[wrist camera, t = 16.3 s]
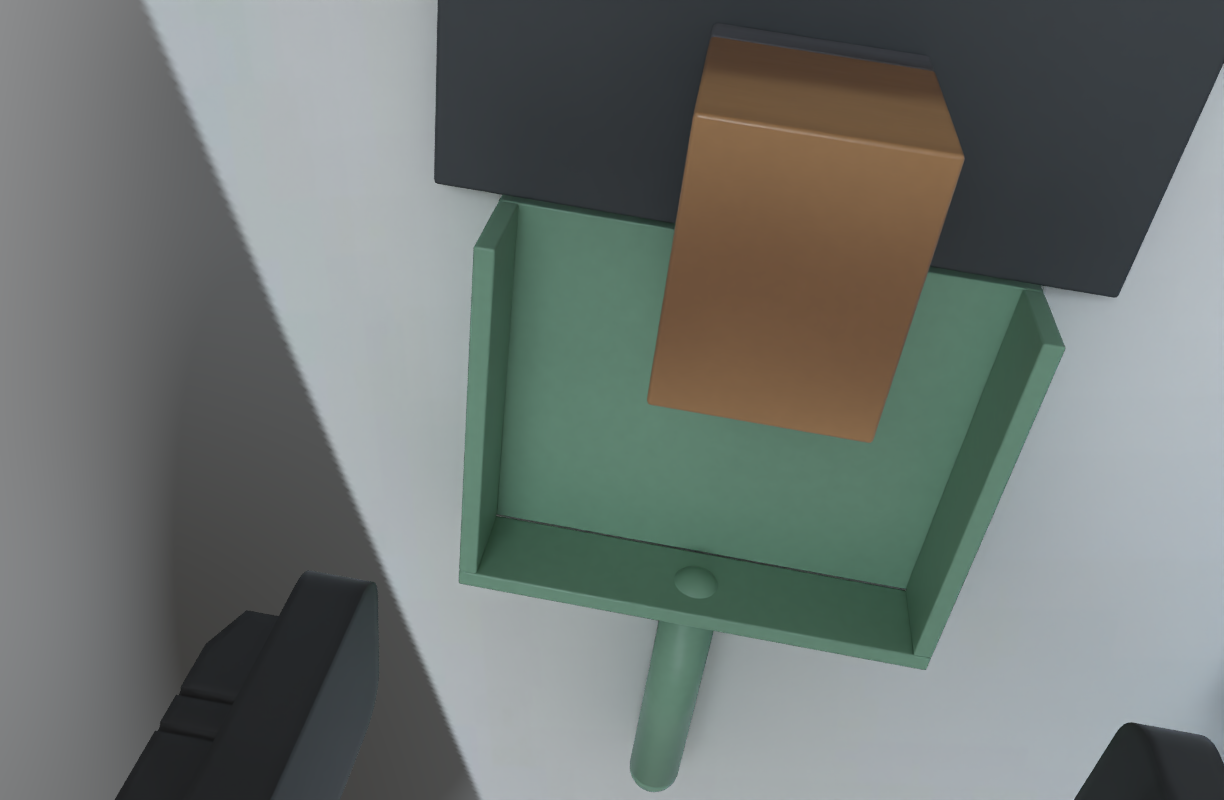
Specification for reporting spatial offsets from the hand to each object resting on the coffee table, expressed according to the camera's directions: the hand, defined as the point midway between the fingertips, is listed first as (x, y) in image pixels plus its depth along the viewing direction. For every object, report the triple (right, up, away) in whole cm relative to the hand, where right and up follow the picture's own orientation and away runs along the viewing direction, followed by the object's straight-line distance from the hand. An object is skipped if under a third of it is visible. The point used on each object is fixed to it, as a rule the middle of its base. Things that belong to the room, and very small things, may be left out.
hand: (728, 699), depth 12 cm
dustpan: (+1, -1, +19) cm, 20 cm away
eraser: (+3, +8, +12) cm, 15 cm away
